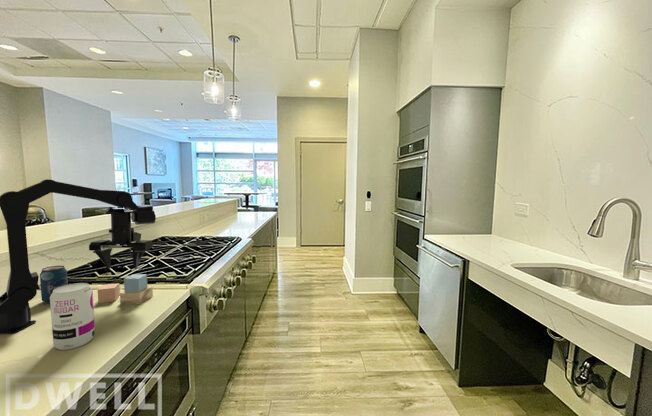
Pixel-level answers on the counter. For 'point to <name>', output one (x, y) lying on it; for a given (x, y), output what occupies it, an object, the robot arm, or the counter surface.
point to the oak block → (136, 296)
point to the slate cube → (135, 283)
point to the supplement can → (72, 315)
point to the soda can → (52, 281)
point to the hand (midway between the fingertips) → (122, 268)
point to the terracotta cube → (108, 293)
